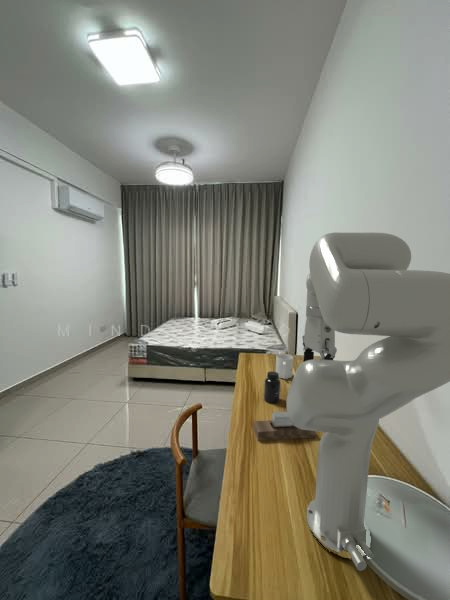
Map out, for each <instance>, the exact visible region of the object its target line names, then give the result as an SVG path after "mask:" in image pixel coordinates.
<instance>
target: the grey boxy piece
mask: <svg viewBox="0 0 450 600" xmlns="http://www.w3.org/2000/svg"><path fill="white" fill-rule="evenodd" d="M271 420H272V428H273V429H276V428H280V427H287V426H289V427H290V428H296V427H295V426H294V425H293V424H292V422H291V421H290V419H289V416H288V413H287V411H274V412H271Z"/></svg>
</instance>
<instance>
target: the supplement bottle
mask: <svg viewBox="0 0 450 600" xmlns="http://www.w3.org/2000/svg"><path fill="white" fill-rule="evenodd" d="M266 373H267V375H266V378H264V390H263V400H264V401H265V402H267V403H269V404H277V403H279V402H280V398H281V380H280V378H279V374H278V373H277V372H276V371H268V372H266Z"/></svg>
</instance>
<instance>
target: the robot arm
mask: <svg viewBox="0 0 450 600" xmlns="http://www.w3.org/2000/svg"><path fill="white" fill-rule="evenodd" d="M411 262H412V252H411V248H410V246H409V245H408V243H407V242H406V241H404V240H403V238H400V237H399V236H397V235H394V234H391V233H387V232H386V233H385V232H330V233H325V234H324V235H322V236H321V237H319V238H318V239H317V241H316V242H314V245H313V246H312V250H311V253H310V255H309V262H308V263H309V265H308V266H309V274H308V275H307V276H306V282H305V284H306V308H305V309H306V310H305V317H306V319H305V325H304V333H303V335H302V345H303V348H302V349H303V362H301V363H300V364H299V365H298V367H297V369H296V371H295V373H294V376H293V379H292V380H291V383H290V386H289V387H288V391H287V395H286V412H287V413H288V416H289V419H290V421H291V422H292V424H293V425H294V426H295V427H297V428H299V429H302V430H310V431H316V432H319V433H323V434H322V436H321V438H320V440H319V444H318V450H317V465H316V481H315V493H314V494H315V497H314V499H312V500H311V501H310V502H309V503H308V506H307V509H306V522H308V523H307V525H309V526H308V528H309V527H310V529H311V530H312V532H313V533H314V535H315V536H316V537H317V538H318V539H319V540H320V541H321V542H322V543H323V544H324V545H325V546H327V547H328V548H330V549H331V550H334V551H336V552H340V553H341V552H342V551H343V550H344V549H345V550H344V551H346V552H349V554H350V556H351V558H352V559H351V560H352V562H353V563H354V565H355V568H356V569H357V570H358V571H359V572H360V571H361V572H363V571H365V570H366V569H367V562H366V560H365V557H362V555H361V553H360V552H359V551H358V549H357V548H356V545H359V546H360V547H361V549H362V550H363V551H364V553H365V554H366V556H368V557H370V558H372V559H374V553H373V552H372V550H371V548H370V549H369V547H368V546H367V545H366V531H367V530H366V529H365V527H364V520H365V514H366V506H367V505H366V504H367V492H368V479H369V469H370V458H371V451H372V446H373V441H374V438H375V435H376V433H377V430H378V426H379V424H380V423H379V422H380V419H383V418H384V417H386V416H389V415H390V414H392V413H394V412H396V411H397V410H399V409H401V408H403V407H404V406H406V405H407V404H409V403H411V402H412V401H414V400H415V399H417V398H419V397H421V396H423V395H425V394H428V393H429V392H432V391H434V390H435V389H438V388H441V387H442V386H444V385H446V384H448V383H449V382H450V273H449V272H442V271H434V270H433V271H432V270H417V269H416V270H415V269H408V268H409V267H410V264H411ZM335 332H338V333H340V334H344V335H345V334H346V335H358V336H359V335H360V336H361V335H363V336H381V337H382V336H384V337H385V338H383V339H381V340H378V341H375V342H373V343H371V344H369V345H368V346H367V347H366V348H365V349H363V350H362V351H361V352H360V353H359V355H358V356H357V358H355V359H354V360H334V359H335V358H336V354H337V351H338V349H337V348H336V346H335V345H336V333H335ZM315 352H316V353H319V355H320V356H319V357H320V358H321V359H319V358H318V359H314V356H315ZM310 529H309V530H310ZM321 537H324V538H325V540H322V539H321ZM342 553H343V552H342Z"/></svg>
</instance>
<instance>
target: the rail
mask: <svg viewBox="0 0 450 600" xmlns="http://www.w3.org/2000/svg"><path fill="white" fill-rule="evenodd" d="M253 432H254V434H255V437H256V439H257V441H272V440H273V441H274V440H291V439H292V440H293V439H309V438H311V439H312V438H316V435H317V431H310V430H302V429H299V428H297V427H296V428H290V427H289V426H287V427H280V428H276V429H273V428H272V419H270V420H253Z"/></svg>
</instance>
